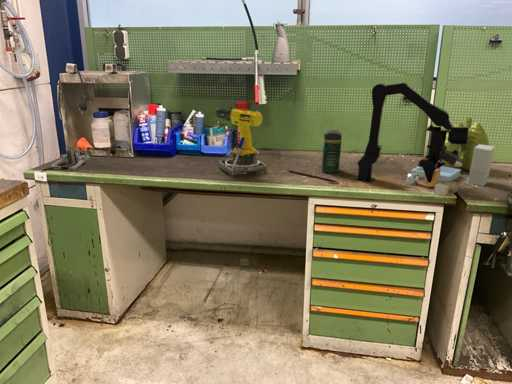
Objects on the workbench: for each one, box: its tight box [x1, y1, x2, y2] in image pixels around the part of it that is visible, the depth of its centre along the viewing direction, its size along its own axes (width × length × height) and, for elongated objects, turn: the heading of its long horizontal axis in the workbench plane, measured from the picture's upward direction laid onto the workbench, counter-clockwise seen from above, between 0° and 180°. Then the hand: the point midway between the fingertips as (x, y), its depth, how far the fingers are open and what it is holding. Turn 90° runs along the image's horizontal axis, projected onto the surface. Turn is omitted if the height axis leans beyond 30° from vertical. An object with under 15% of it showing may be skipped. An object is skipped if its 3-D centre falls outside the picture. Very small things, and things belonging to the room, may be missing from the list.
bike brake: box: [40, 147, 91, 173], centre depth 192 cm, size 14×7×20 cm
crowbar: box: [287, 168, 339, 185], centre depth 181 cm, size 28×1×5 cm
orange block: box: [423, 169, 441, 187], centre depth 168 cm, size 4×4×6 cm
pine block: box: [443, 181, 459, 194], centre depth 165 cm, size 4×4×4 cm
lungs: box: [442, 116, 490, 171], centre depth 195 cm, size 25×16×24 cm, turn 80°
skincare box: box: [467, 144, 496, 187], centre depth 174 cm, size 8×7×16 cm
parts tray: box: [410, 165, 462, 184], centre depth 185 cm, size 16×16×3 cm
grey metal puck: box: [406, 172, 420, 186], centre depth 174 cm, size 4×4×4 cm
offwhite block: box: [433, 182, 449, 197], centre depth 161 cm, size 4×4×4 cm
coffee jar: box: [321, 129, 343, 174], centre depth 189 cm, size 10×8×19 cm
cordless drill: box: [213, 106, 268, 177], centre depth 188 cm, size 18×19×28 cm
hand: (431, 180), depth 169 cm, fingers closed on orange block, 4 cm apart
